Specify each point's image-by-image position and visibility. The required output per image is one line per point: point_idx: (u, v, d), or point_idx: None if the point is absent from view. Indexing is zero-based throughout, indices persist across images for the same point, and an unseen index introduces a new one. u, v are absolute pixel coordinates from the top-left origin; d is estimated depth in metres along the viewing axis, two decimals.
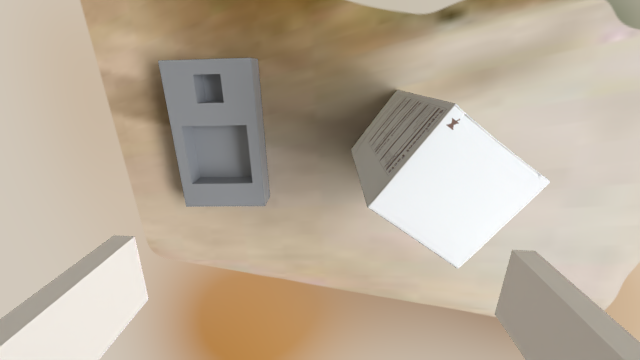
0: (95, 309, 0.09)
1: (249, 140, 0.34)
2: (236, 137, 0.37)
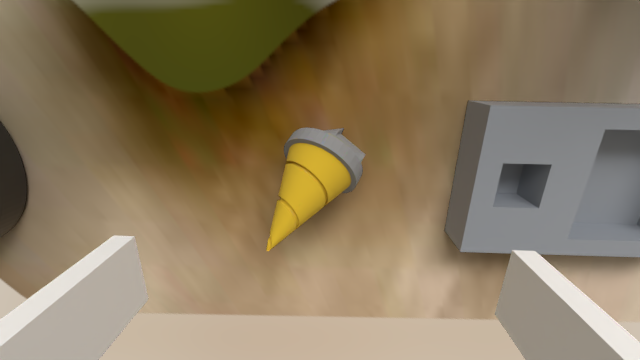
0: (95, 309, 0.09)
1: (636, 127, 0.18)
2: None
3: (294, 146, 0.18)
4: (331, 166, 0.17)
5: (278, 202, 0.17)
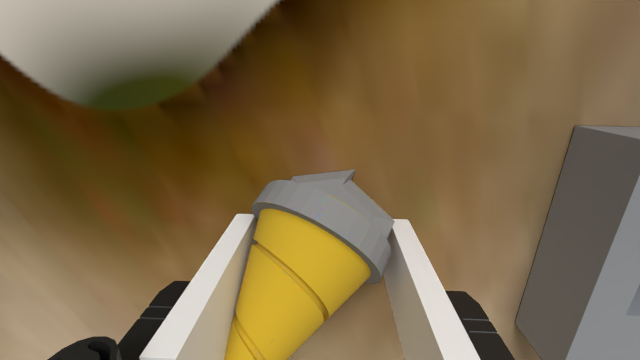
0: (242, 271, 0.10)
1: None
2: None
3: (266, 214, 0.10)
4: (335, 260, 0.09)
5: (232, 328, 0.09)
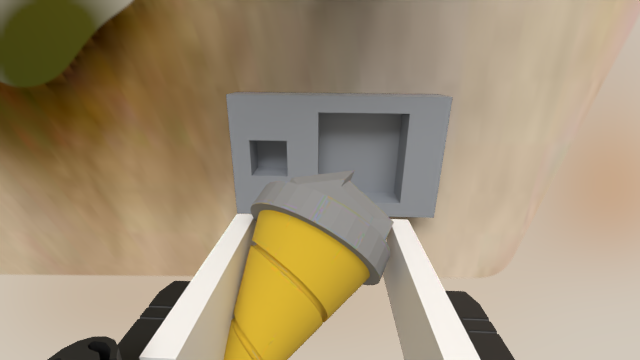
0: (242, 271, 0.10)
1: (341, 110, 0.23)
2: (341, 134, 0.26)
3: (265, 215, 0.10)
4: (333, 261, 0.09)
5: (231, 330, 0.09)
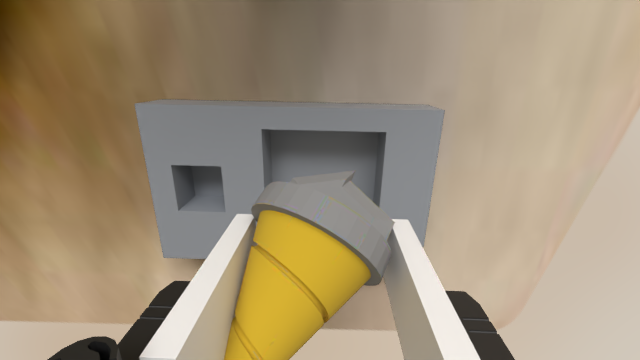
0: (242, 271, 0.10)
1: (292, 127, 0.17)
2: (299, 155, 0.20)
3: (266, 215, 0.10)
4: (335, 262, 0.09)
5: (232, 330, 0.09)
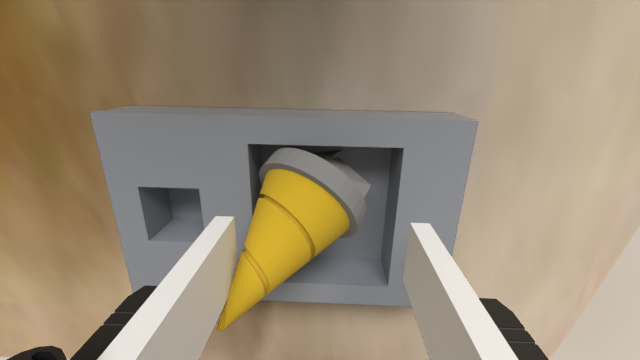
0: (217, 275, 0.10)
1: (286, 141, 0.13)
2: None
3: (270, 173, 0.13)
4: (319, 203, 0.12)
5: (241, 255, 0.12)
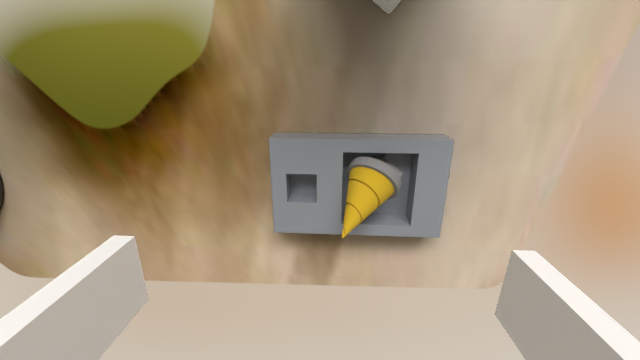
0: (95, 309, 0.09)
1: (362, 150, 0.28)
2: None
3: (356, 169, 0.28)
4: (382, 182, 0.27)
5: (347, 206, 0.27)
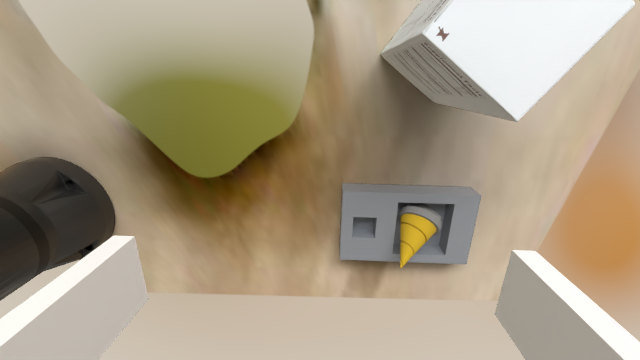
0: (95, 309, 0.09)
1: (412, 201, 0.37)
2: None
3: (408, 215, 0.37)
4: (429, 226, 0.36)
5: (403, 244, 0.36)
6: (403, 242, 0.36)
